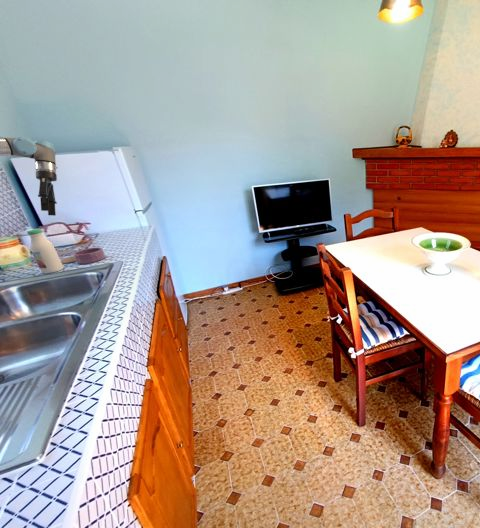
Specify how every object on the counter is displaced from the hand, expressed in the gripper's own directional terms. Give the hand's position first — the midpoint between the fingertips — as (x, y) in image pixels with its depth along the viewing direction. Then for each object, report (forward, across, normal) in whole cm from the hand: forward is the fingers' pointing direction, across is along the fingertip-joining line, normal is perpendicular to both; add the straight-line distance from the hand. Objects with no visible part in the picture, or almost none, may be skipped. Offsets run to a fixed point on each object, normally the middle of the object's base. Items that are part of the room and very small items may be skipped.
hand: (48, 213), depth 154 cm
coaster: (+25, -5, -9) cm, 27 cm away
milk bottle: (+31, -18, -3) cm, 36 cm away
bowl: (+26, -14, -17) cm, 34 cm away
